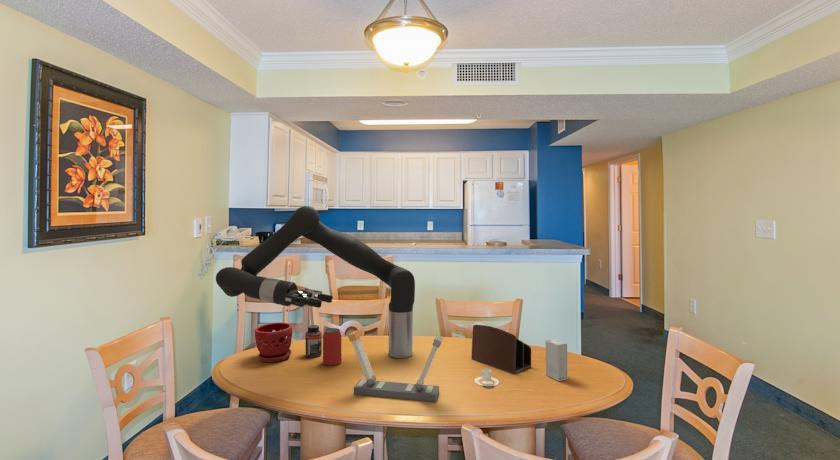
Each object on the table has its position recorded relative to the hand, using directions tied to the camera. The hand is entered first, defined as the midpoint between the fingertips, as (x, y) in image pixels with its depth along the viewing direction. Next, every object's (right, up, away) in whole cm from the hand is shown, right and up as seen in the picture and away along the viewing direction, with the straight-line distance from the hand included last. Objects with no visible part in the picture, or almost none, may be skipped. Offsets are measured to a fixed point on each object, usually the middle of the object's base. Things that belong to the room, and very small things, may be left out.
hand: (326, 301), depth 129 cm
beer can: (-3, -26, +23) cm, 35 cm away
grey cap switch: (+29, -24, -4) cm, 37 cm away
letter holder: (+58, -27, +24) cm, 68 cm away
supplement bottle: (-12, -26, +31) cm, 42 cm away
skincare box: (+74, -27, +11) cm, 80 cm away
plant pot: (-26, -26, +27) cm, 46 cm away
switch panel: (+22, -27, -2) cm, 35 cm away
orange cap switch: (+14, -24, -1) cm, 28 cm away
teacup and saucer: (+48, -28, +6) cm, 55 cm away
